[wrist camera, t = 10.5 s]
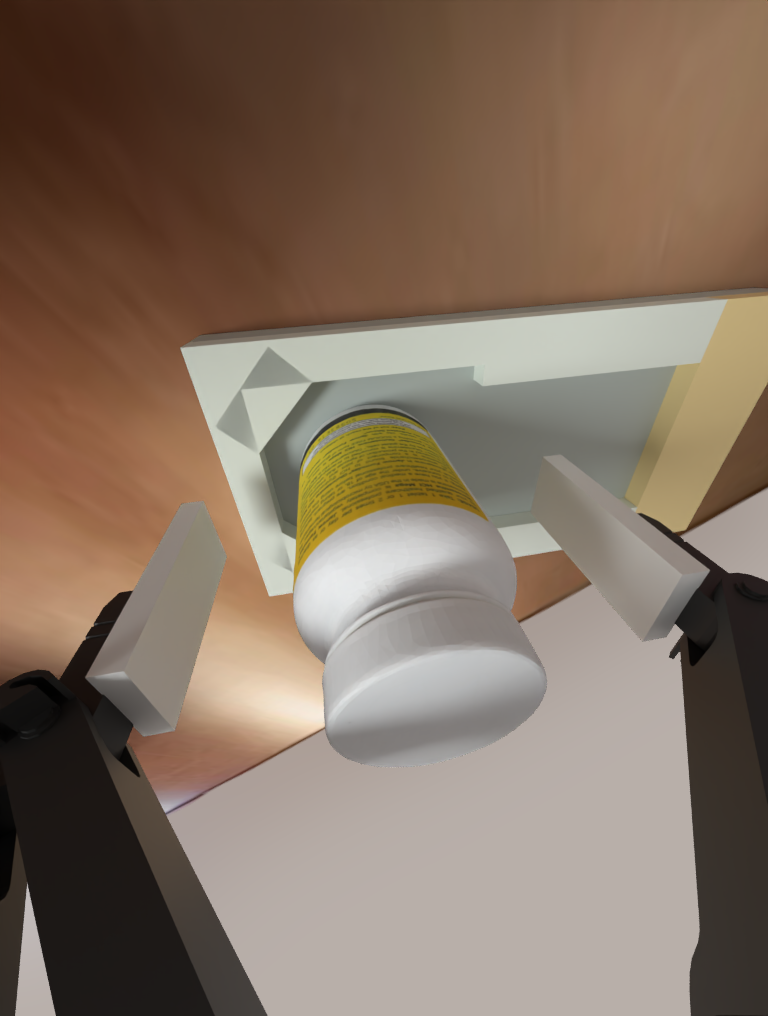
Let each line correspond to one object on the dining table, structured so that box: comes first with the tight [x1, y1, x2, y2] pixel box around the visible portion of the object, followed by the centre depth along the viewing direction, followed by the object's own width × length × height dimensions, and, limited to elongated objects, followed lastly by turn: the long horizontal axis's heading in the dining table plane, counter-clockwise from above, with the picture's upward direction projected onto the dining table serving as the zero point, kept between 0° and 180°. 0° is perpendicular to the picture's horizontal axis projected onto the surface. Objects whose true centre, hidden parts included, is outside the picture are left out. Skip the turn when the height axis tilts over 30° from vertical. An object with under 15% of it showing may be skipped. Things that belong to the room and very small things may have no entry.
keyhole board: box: [180, 288, 768, 596], centre depth 17 cm, size 24×12×2 cm, turn 93°
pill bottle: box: [293, 405, 547, 767], centre depth 12 cm, size 6×6×11 cm
